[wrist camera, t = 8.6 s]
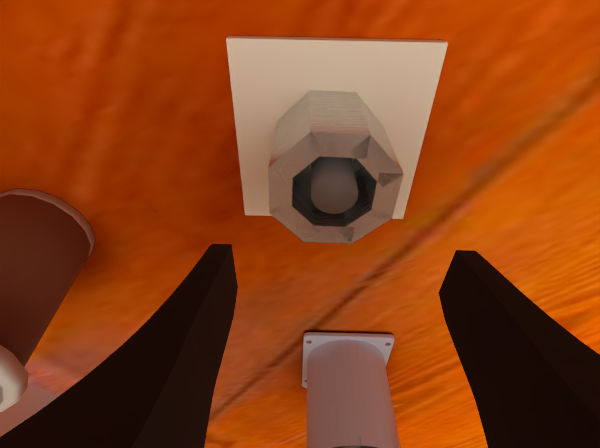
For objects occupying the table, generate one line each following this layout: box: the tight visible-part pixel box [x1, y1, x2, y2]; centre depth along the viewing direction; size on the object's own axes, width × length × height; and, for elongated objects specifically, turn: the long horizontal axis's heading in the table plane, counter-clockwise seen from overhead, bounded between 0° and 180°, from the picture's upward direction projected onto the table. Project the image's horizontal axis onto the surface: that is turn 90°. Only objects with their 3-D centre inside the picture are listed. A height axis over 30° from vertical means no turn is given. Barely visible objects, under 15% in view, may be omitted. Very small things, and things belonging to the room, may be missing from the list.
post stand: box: [226, 36, 448, 219], centre depth 17 cm, size 10×10×6 cm
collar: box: [268, 90, 404, 244], centre depth 16 cm, size 6×6×5 cm
